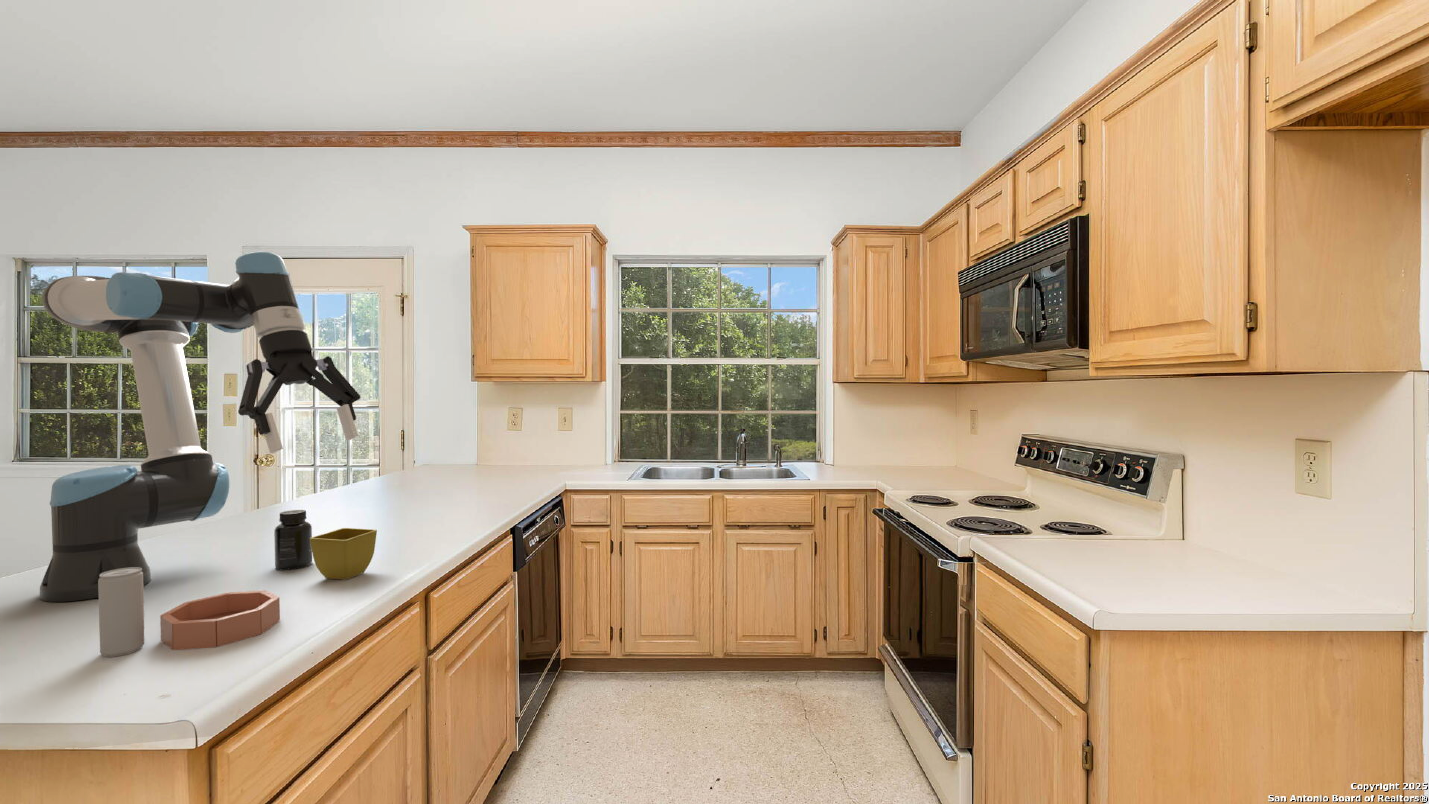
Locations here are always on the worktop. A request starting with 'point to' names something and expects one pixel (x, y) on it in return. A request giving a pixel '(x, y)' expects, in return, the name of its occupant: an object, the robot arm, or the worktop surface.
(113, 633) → the beverage can
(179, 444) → the robot arm
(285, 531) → the supplement bottle
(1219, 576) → the worktop surface
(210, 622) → the terracotta bowl
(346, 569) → the flower pot
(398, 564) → the worktop surface
